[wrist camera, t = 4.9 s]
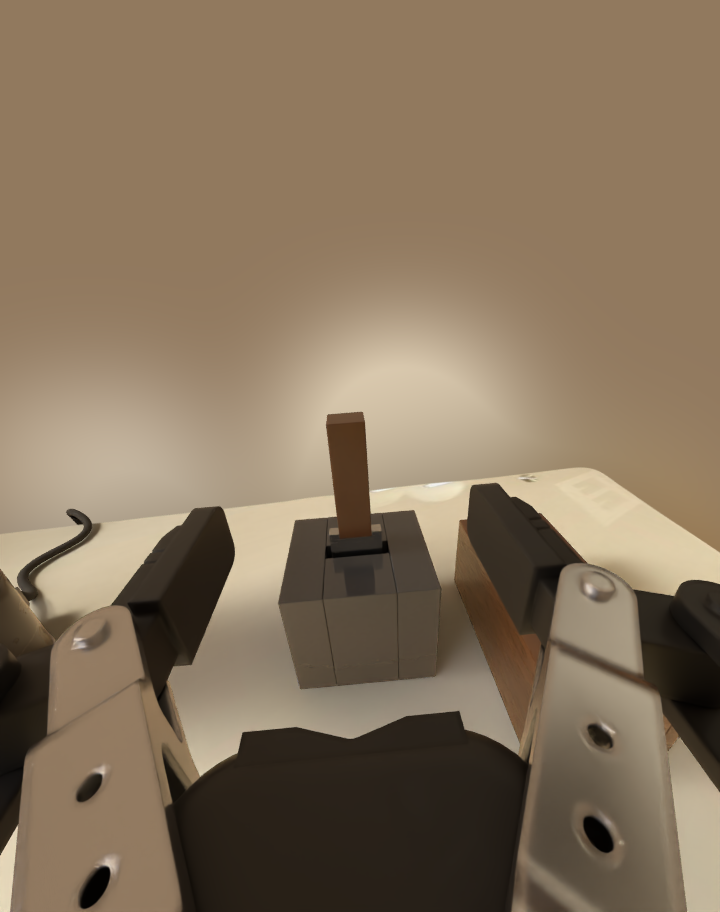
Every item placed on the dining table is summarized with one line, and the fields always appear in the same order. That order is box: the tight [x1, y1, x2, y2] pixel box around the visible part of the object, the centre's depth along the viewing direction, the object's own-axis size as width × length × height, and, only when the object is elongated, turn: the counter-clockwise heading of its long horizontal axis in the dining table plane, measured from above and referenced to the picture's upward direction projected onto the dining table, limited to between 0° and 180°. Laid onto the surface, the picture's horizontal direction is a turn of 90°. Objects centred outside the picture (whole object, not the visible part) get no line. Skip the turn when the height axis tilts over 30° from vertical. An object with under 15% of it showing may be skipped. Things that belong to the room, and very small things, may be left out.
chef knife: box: [326, 412, 383, 558], centre depth 25 cm, size 4×2×21 cm, turn 93°
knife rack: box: [454, 513, 679, 752], centre depth 26 cm, size 8×16×8 cm, turn 3°
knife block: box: [278, 510, 441, 689], centre depth 28 cm, size 11×9×10 cm
